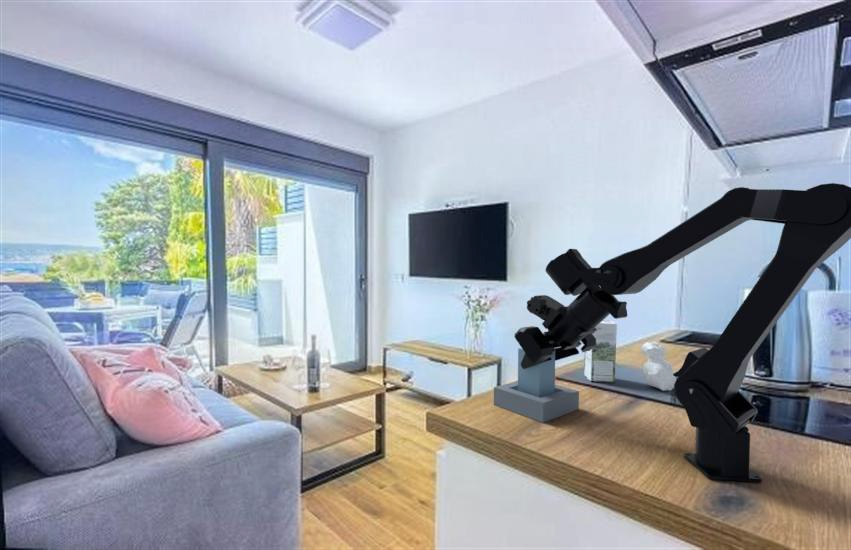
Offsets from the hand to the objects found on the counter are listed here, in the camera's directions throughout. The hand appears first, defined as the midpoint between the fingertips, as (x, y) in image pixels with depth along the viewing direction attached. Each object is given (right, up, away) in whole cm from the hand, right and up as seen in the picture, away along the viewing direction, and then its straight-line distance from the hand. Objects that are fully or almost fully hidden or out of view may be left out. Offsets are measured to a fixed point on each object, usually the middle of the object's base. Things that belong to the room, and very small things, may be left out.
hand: (530, 364), depth 80 cm
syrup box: (+22, -8, +19) cm, 30 cm away
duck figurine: (+33, -8, +14) cm, 37 cm away
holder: (+1, -8, -1) cm, 8 cm away
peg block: (+1, -7, -1) cm, 7 cm away
